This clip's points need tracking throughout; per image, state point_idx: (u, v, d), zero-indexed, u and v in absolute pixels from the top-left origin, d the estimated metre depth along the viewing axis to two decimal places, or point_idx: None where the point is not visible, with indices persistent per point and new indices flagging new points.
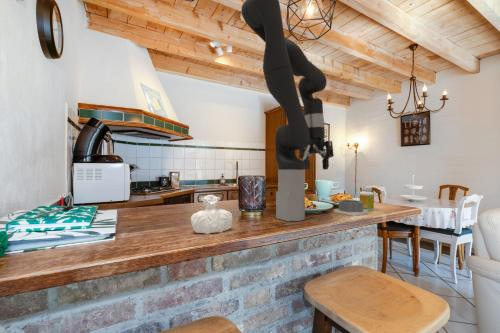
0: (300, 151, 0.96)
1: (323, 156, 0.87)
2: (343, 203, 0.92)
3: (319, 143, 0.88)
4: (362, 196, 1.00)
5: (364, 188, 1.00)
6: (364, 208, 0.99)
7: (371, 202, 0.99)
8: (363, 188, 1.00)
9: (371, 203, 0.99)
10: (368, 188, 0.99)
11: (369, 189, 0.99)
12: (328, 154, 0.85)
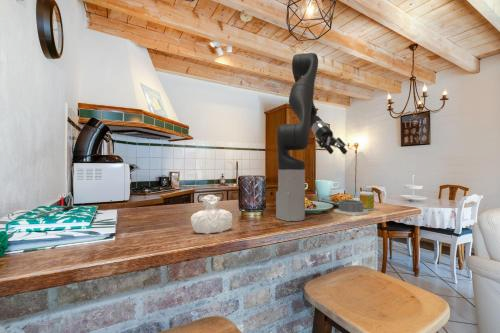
0: (322, 140, 1.12)
1: (341, 144, 1.15)
2: (343, 203, 0.92)
3: (334, 138, 1.18)
4: (362, 196, 1.00)
5: (364, 188, 1.00)
6: (364, 208, 0.99)
7: (371, 202, 0.99)
8: (363, 188, 1.00)
9: (371, 203, 0.99)
10: (368, 188, 0.99)
11: (369, 189, 0.99)
12: (344, 143, 1.16)
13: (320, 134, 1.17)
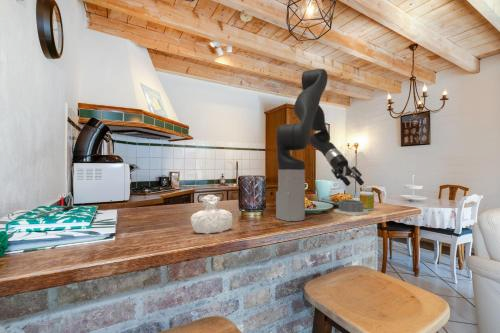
0: (337, 171, 1.07)
1: (358, 174, 1.11)
2: (343, 203, 0.92)
3: (349, 167, 1.13)
4: (362, 196, 1.00)
5: (364, 188, 1.00)
6: (364, 208, 0.99)
7: (371, 202, 0.99)
8: (363, 188, 1.00)
9: (371, 203, 0.99)
10: (368, 188, 0.99)
11: (369, 189, 0.99)
12: (360, 173, 1.12)
13: (335, 163, 1.12)
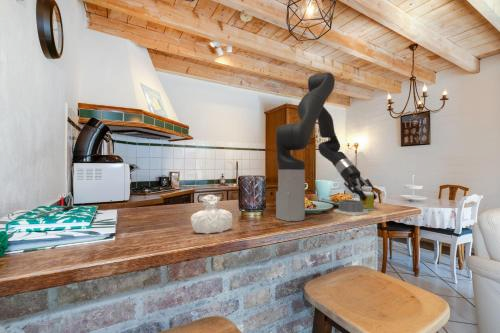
0: (352, 184, 1.01)
1: None
2: (343, 203, 0.92)
3: (361, 178, 1.07)
4: None
5: (364, 188, 1.00)
6: (364, 208, 0.99)
7: (371, 202, 0.99)
8: (363, 188, 1.00)
9: (371, 203, 0.99)
10: (368, 188, 0.99)
11: (369, 189, 0.99)
12: (373, 187, 1.05)
13: (347, 175, 1.06)
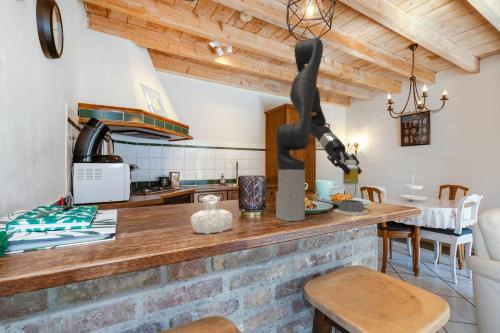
0: (335, 157, 0.94)
1: None
2: (343, 203, 0.92)
3: (346, 153, 1.00)
4: None
5: (348, 161, 0.93)
6: (347, 182, 0.92)
7: (355, 176, 0.92)
8: (347, 161, 0.93)
9: (354, 177, 0.92)
10: (352, 161, 0.92)
11: (353, 162, 0.92)
12: (358, 161, 0.98)
13: (330, 149, 0.99)
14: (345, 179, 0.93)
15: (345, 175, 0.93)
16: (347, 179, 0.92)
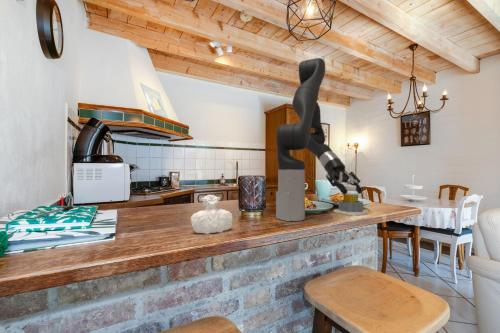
0: (333, 177, 0.94)
1: (356, 181, 0.97)
2: (343, 203, 0.92)
3: (346, 172, 1.00)
4: (346, 195, 0.93)
5: (348, 187, 0.93)
6: None
7: (355, 202, 0.92)
8: (347, 187, 0.94)
9: None
10: (352, 187, 0.93)
11: (353, 188, 0.93)
12: (358, 180, 0.99)
13: (330, 168, 0.99)
14: None
15: (345, 201, 0.93)
16: None
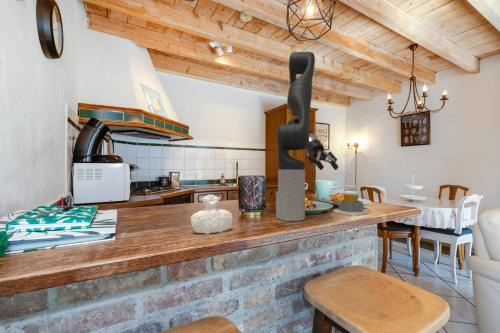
0: (311, 155, 1.06)
1: (333, 159, 1.09)
2: (343, 203, 0.92)
3: (325, 152, 1.11)
4: (346, 195, 0.93)
5: (348, 187, 0.93)
6: None
7: (355, 202, 0.92)
8: (347, 187, 0.94)
9: None
10: (352, 187, 0.93)
11: (353, 188, 0.93)
12: (336, 158, 1.10)
13: (310, 148, 1.11)
14: None
15: (345, 201, 0.93)
16: None
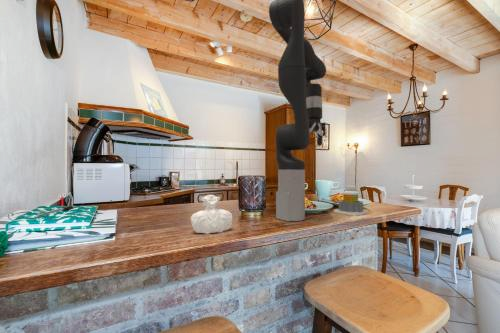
0: None
1: (322, 134, 1.07)
2: (343, 203, 0.92)
3: (319, 123, 1.06)
4: (346, 195, 0.93)
5: (348, 187, 0.93)
6: None
7: (355, 202, 0.92)
8: (347, 187, 0.94)
9: None
10: (352, 187, 0.93)
11: (353, 188, 0.93)
12: (325, 133, 1.09)
13: (309, 115, 1.03)
14: None
15: (345, 201, 0.93)
16: None
